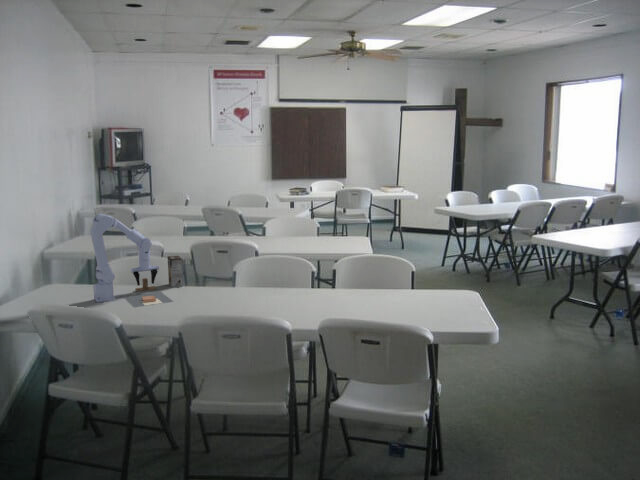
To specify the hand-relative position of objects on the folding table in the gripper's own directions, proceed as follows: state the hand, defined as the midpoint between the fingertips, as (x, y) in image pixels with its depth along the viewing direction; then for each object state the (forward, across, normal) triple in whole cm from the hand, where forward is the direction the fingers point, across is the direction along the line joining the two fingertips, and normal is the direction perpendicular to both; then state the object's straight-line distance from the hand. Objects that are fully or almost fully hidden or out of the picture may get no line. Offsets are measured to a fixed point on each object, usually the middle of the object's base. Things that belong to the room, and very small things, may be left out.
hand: (145, 284), depth 331 cm
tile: (+4, +4, +19) cm, 20 cm away
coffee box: (+4, -18, -6) cm, 20 cm away
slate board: (+4, +4, +16) cm, 17 cm away
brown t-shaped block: (+4, 0, -2) cm, 5 cm away
